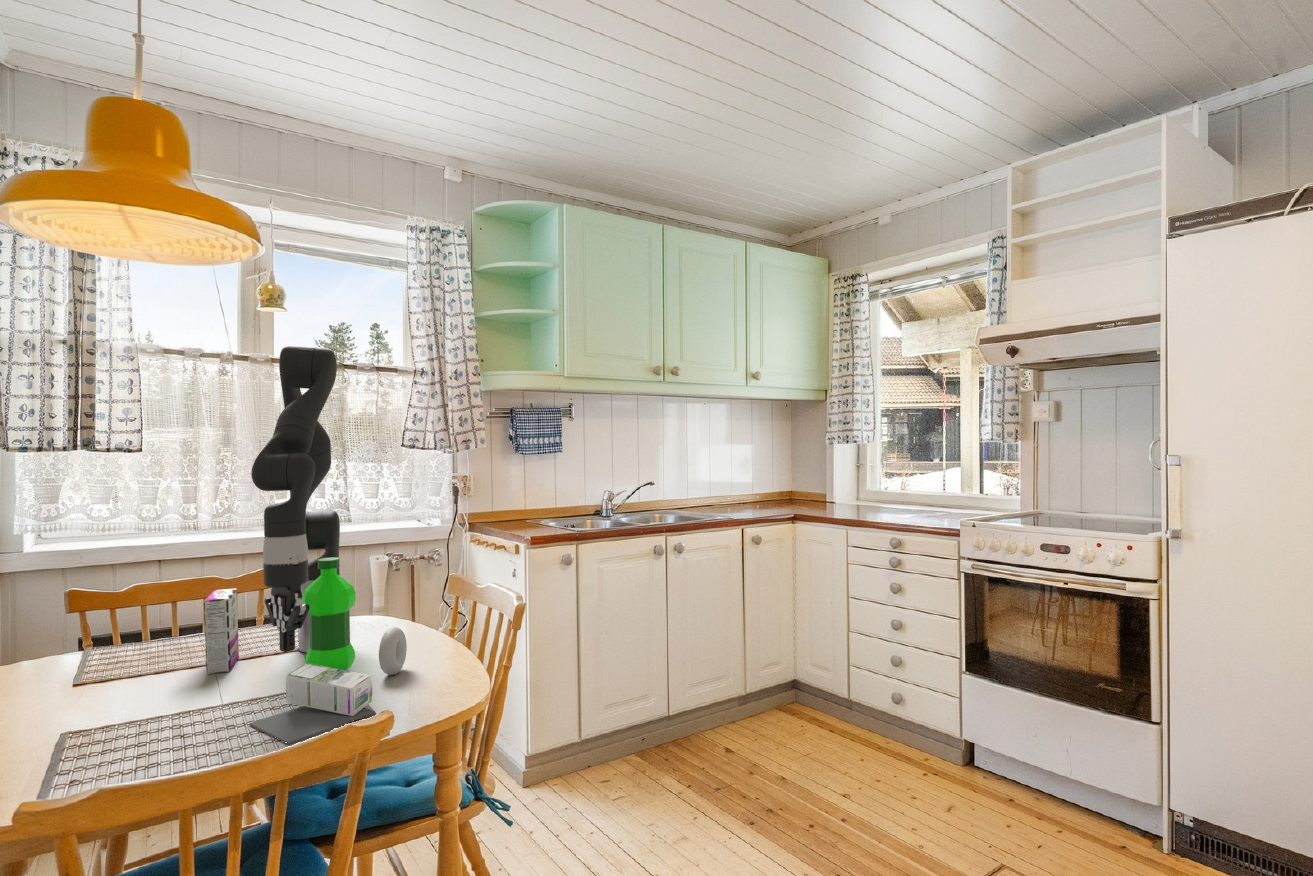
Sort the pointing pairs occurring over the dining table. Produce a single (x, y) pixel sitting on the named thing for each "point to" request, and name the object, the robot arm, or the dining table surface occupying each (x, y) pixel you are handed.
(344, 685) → the syrup box
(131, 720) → the dining table surface
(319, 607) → the plastic bottle
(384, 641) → the donut
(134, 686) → the dining table surface
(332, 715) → the mat
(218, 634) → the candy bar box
